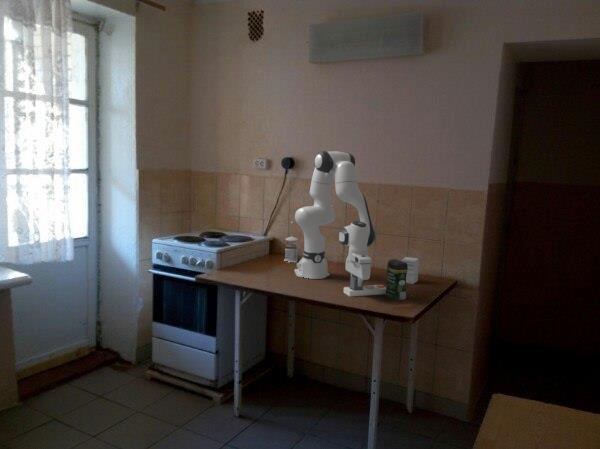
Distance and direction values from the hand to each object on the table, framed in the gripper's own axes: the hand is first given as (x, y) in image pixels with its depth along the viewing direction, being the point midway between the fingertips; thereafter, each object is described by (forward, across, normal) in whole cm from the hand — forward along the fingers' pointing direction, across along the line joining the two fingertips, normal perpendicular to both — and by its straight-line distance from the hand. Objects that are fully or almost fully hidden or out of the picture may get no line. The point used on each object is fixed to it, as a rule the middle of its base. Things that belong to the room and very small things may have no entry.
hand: (356, 284), depth 232 cm
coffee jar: (+6, +9, +16) cm, 20 cm away
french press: (+6, -79, -7) cm, 80 cm away
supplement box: (+6, -18, +40) cm, 44 cm away
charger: (+5, 0, 0) cm, 5 cm away
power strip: (+6, 0, +5) cm, 8 cm away
